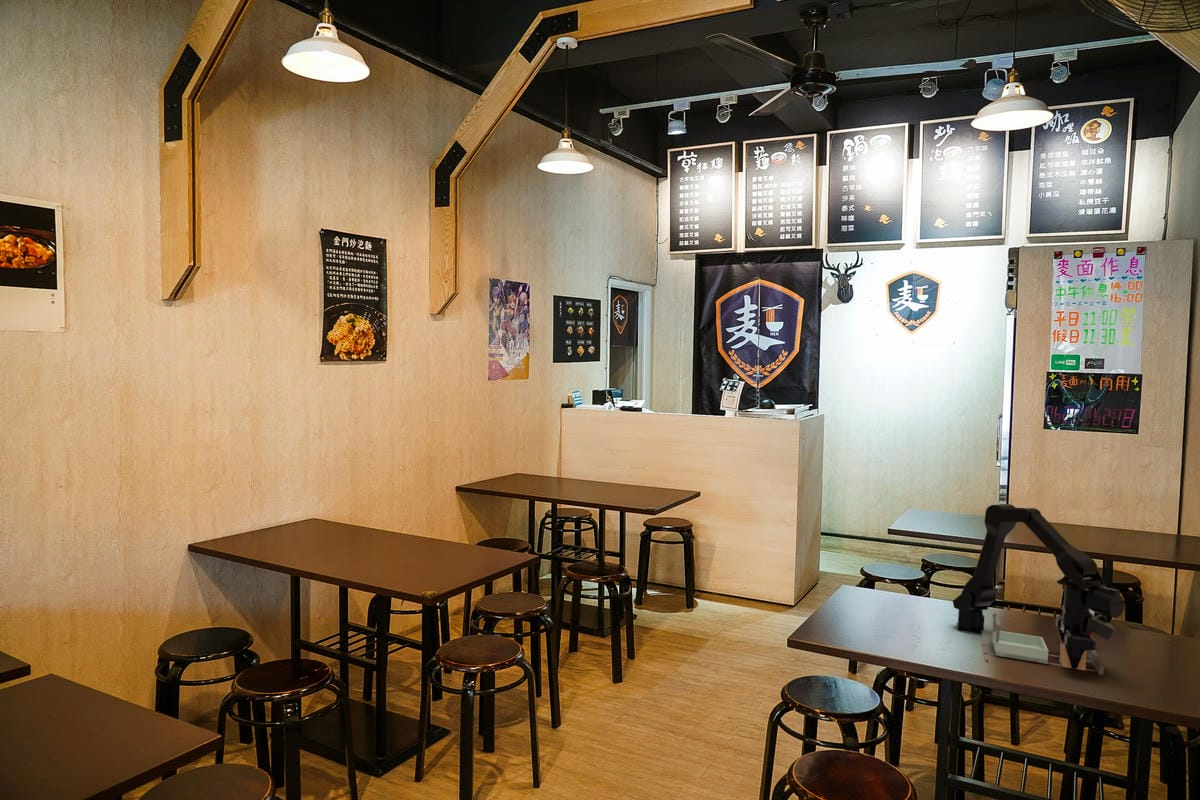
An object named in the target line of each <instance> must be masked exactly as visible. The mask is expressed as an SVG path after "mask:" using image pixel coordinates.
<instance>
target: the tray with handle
mask: <svg viewBox="0 0 1200 800" xmlns="http://www.w3.org/2000/svg"><path fill="white" fill-rule="evenodd" d="M992 617H993V619H992V620H993V623H992V639H991V642H992V645H993V646H992V647H993V651H994V654H995V655H994V656H997V657H1000V658H1004V657H1005V658H1011V659H1016V660H1021V661H1029V662H1034V663H1038V664H1041V665H1042V664H1047V662H1048V661H1049V660H1048V659H1049V655H1048V654H1049V648H1048V647H1047V644H1046V643H1045V640H1044V638H1043V637H1042V636H1038V635H1037V636H1036V635H1029V634H1023V633H1019V632H1018V633H1017V632H1011V631H1002V630H1001V629H1002V625H1001V622H1000V618H999V616H998V614H997V613H995V612H994V613H993V614H992ZM1048 663H1049V662H1048ZM1047 665H1048V664H1047Z"/></svg>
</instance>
